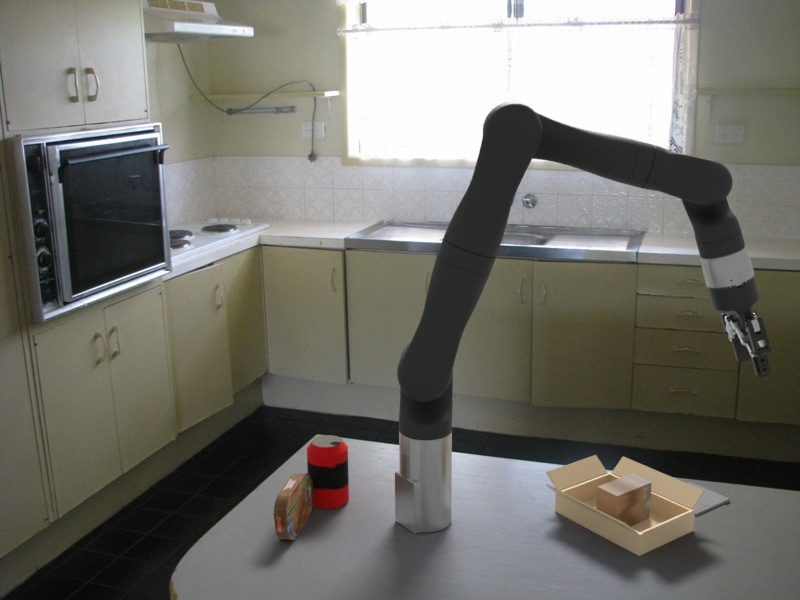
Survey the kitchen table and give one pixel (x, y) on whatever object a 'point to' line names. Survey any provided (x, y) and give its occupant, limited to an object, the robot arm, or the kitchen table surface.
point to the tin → (293, 506)
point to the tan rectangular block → (625, 499)
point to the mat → (708, 500)
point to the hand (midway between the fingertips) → (753, 368)
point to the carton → (579, 505)
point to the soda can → (328, 471)
